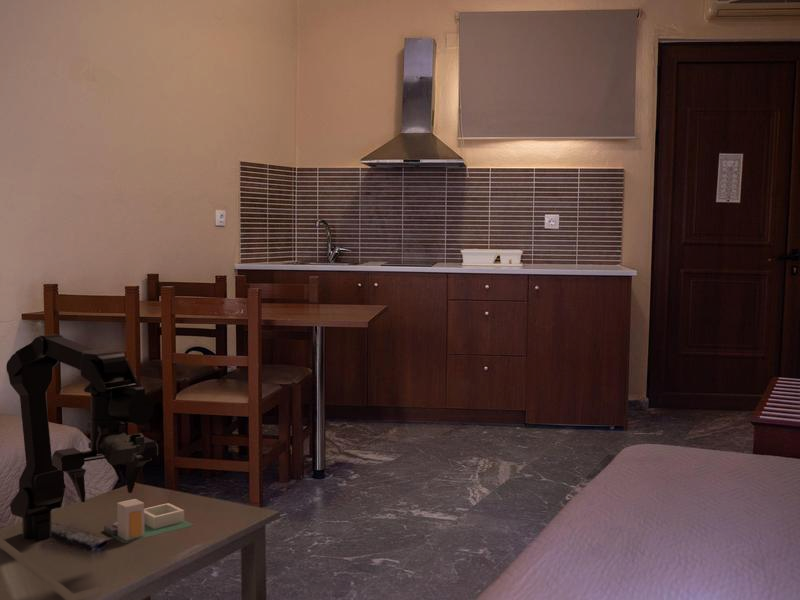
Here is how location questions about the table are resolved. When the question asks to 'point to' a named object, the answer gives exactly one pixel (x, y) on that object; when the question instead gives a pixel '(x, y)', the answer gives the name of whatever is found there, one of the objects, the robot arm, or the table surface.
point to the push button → (111, 528)
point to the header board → (160, 521)
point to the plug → (130, 519)
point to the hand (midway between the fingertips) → (106, 497)
